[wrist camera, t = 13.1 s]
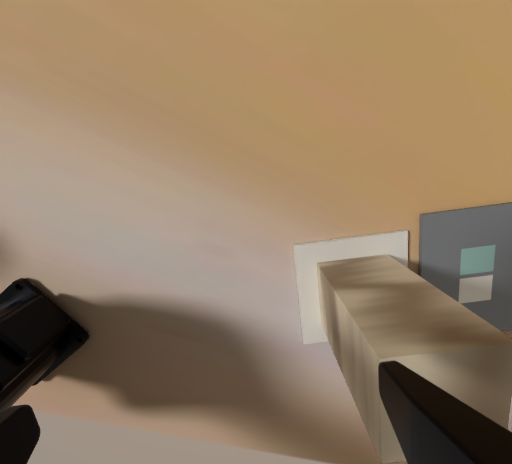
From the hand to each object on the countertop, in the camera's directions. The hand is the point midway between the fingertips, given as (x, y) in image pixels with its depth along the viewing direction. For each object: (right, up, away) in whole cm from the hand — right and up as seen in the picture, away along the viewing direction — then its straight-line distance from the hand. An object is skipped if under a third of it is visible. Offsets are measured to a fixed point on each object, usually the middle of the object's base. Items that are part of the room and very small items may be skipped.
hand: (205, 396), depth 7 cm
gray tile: (+19, +1, +13) cm, 23 cm away
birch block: (+8, 0, +13) cm, 16 cm away
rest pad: (+8, 0, +14) cm, 16 cm away
